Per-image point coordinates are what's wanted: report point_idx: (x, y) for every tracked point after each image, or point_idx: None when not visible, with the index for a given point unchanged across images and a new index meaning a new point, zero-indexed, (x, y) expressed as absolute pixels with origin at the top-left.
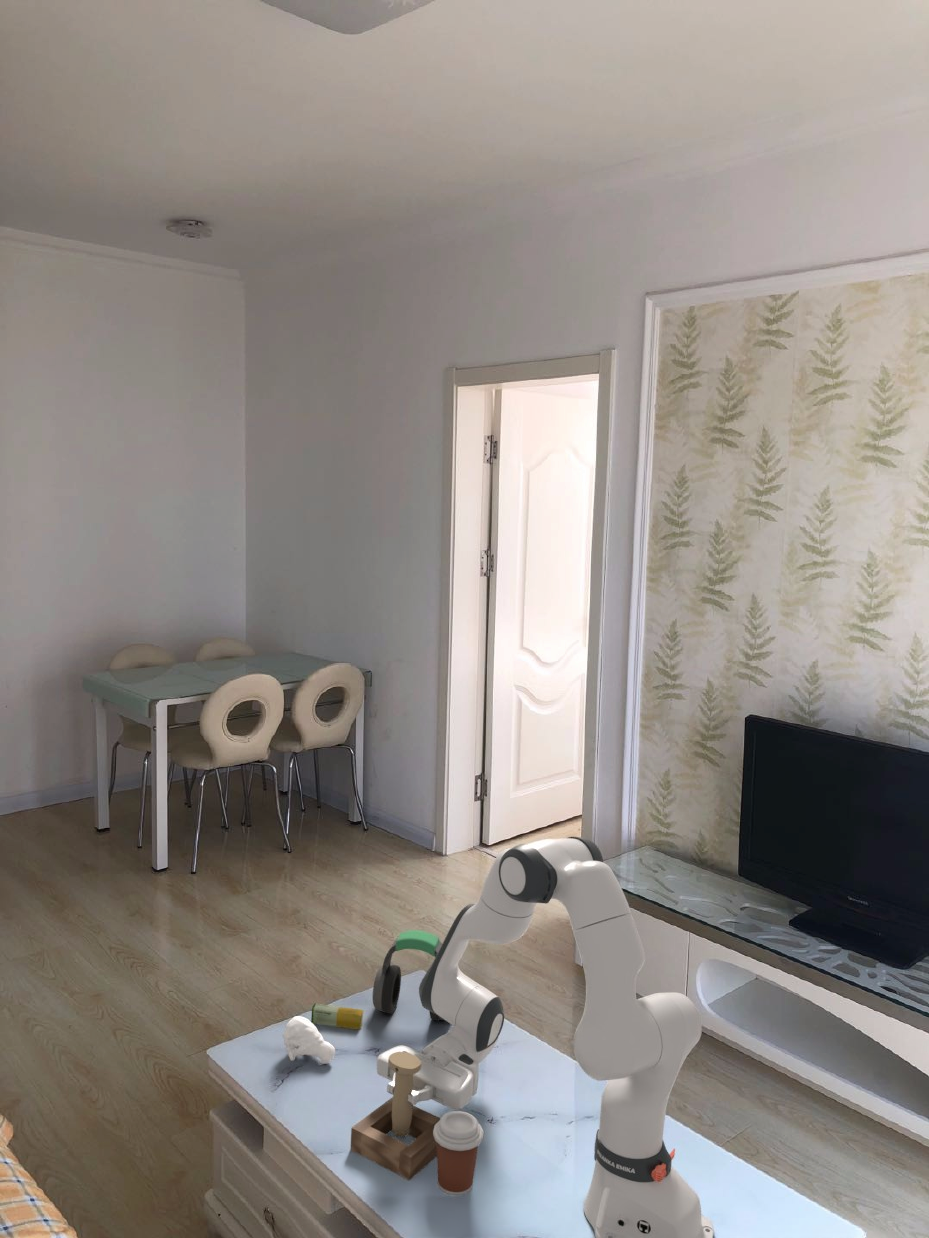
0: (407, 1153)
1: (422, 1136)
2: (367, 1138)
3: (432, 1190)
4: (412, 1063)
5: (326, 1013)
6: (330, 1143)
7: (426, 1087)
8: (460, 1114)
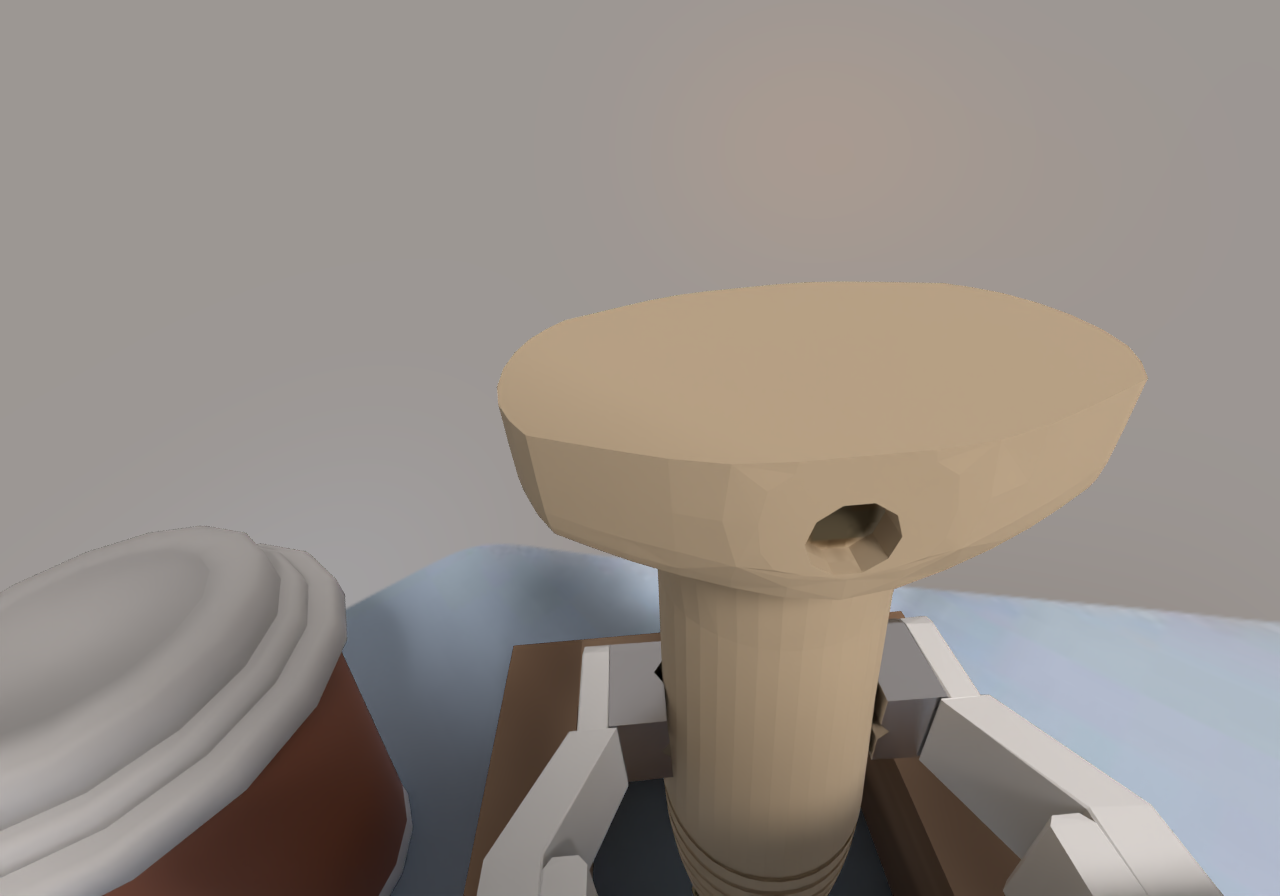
0: (544, 657)
1: None
2: None
3: (417, 737)
4: (628, 364)
5: None
6: (970, 658)
7: (553, 881)
8: (23, 731)
